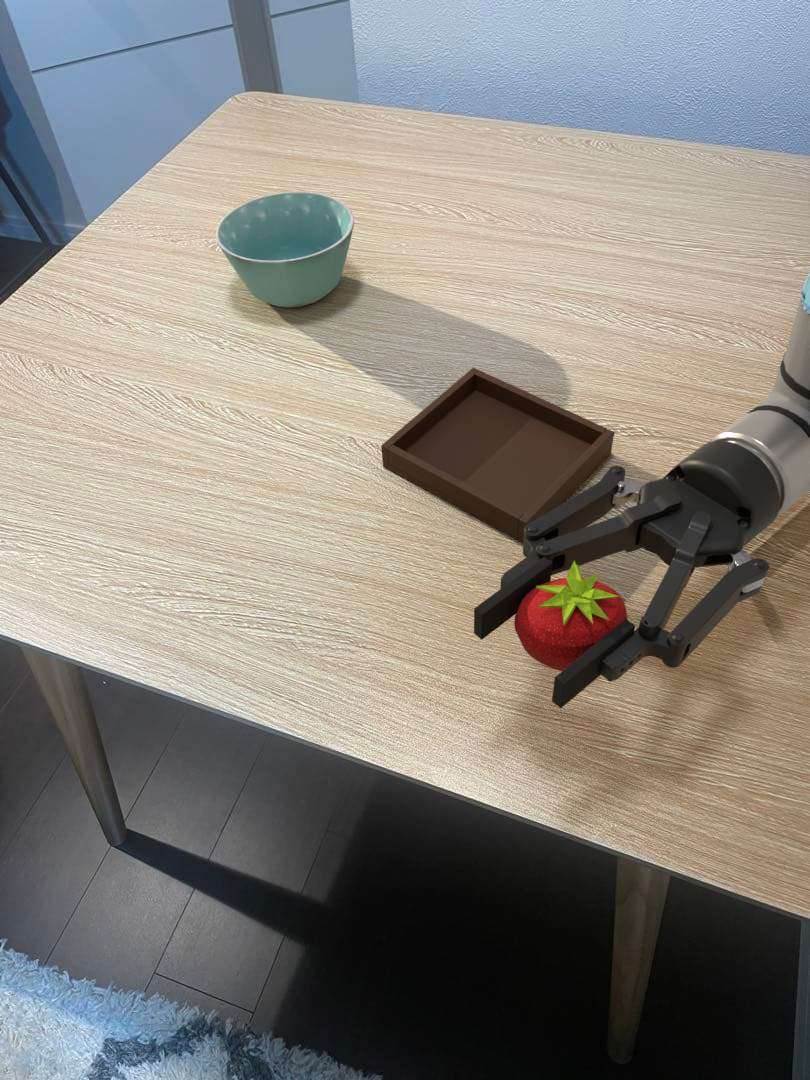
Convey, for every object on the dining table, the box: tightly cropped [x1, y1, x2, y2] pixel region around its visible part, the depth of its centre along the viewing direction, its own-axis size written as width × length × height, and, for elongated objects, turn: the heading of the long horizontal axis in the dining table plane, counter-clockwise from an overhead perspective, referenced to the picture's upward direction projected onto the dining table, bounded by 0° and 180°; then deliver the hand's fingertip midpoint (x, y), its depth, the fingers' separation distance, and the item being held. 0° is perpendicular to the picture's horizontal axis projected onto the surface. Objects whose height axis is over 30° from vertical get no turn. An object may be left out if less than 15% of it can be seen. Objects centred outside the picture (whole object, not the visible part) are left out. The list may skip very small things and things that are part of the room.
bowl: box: [215, 191, 355, 308], centre depth 107 cm, size 16×16×8 cm
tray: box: [380, 367, 615, 544], centre depth 87 cm, size 17×15×3 cm
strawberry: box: [513, 561, 628, 672], centre depth 61 cm, size 6×8×10 cm
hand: (517, 657), depth 58 cm, fingers closed on strawberry, 6 cm apart
